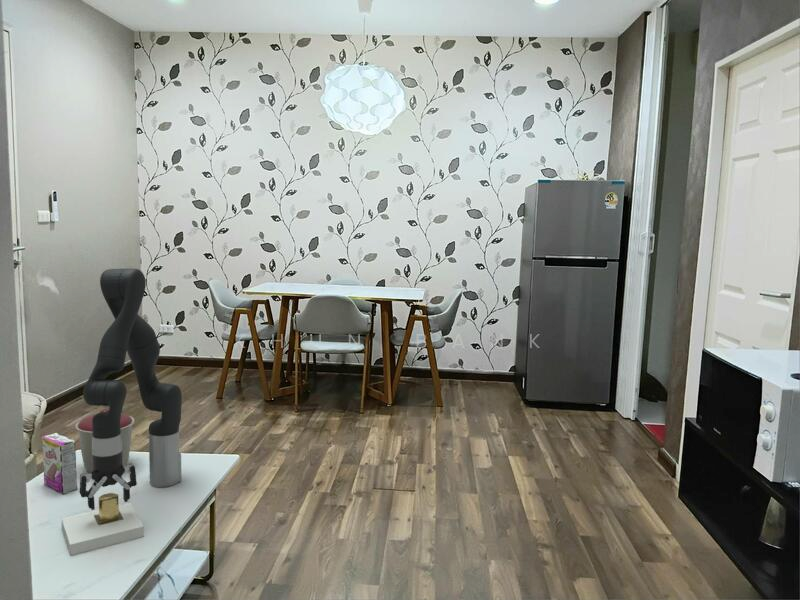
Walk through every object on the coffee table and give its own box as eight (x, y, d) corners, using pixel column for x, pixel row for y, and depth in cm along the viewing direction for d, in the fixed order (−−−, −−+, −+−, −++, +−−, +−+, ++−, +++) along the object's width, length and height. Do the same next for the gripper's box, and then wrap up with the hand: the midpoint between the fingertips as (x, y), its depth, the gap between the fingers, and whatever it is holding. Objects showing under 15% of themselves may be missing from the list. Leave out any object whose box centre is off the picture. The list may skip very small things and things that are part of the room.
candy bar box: (42, 485, 196) (40, 436, 194) (58, 480, 201) (56, 432, 198) (62, 495, 191) (60, 444, 188) (78, 489, 195) (76, 440, 192)
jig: (130, 512, 182) (130, 502, 181) (143, 536, 169) (143, 526, 169) (61, 528, 171) (61, 518, 171) (70, 555, 159) (70, 544, 158)
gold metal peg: (117, 521, 177) (116, 491, 175) (120, 528, 173) (120, 498, 171) (97, 525, 174) (97, 495, 172) (101, 533, 170) (100, 503, 168)
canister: (127, 479, 203) (126, 418, 200) (68, 480, 200) (66, 418, 197) (141, 457, 221) (139, 400, 218) (87, 458, 218) (85, 401, 215)
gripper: (131, 440, 177) (133, 493, 179) (76, 450, 169) (78, 505, 171) (137, 449, 171) (139, 504, 173) (80, 460, 163) (83, 517, 165)
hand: (109, 504), depth 172 cm, fingers open, 8 cm apart
